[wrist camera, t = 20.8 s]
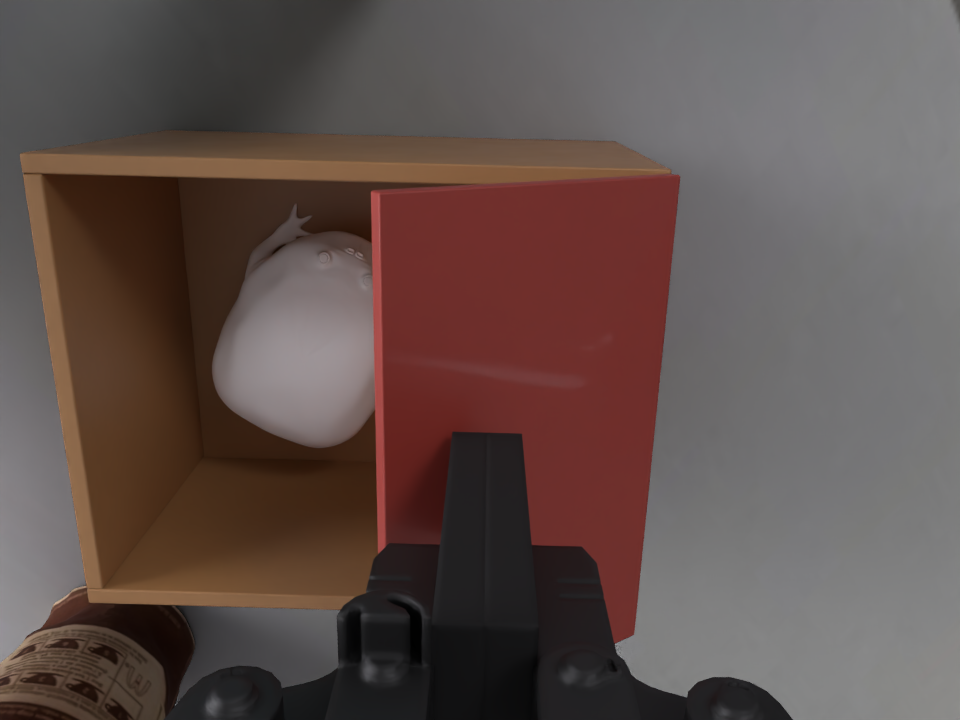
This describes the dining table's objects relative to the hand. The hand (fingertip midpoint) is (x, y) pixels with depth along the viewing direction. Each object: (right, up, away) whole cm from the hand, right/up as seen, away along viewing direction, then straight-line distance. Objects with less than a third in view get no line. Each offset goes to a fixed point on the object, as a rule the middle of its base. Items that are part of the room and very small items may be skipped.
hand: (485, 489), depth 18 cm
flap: (+1, +1, +2) cm, 2 cm away
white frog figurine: (-6, +4, +13) cm, 15 cm away
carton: (-3, +5, +13) cm, 14 cm away
